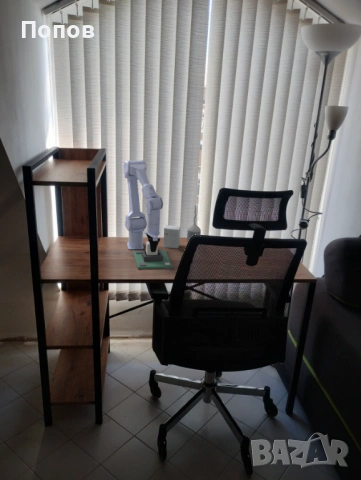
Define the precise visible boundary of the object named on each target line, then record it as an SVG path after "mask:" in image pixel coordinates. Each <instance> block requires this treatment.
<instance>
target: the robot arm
mask: <svg viewBox="0 0 361 480" xmlns="http://www.w3.org/2000/svg"><path fill="white" fill-rule="evenodd" d="M146 172H147V163H146V161H145V160H143V159H142V160H141V159H140V160H125V161H124V162H123V175H124V178H125V179H127V189H128V190H127V191H128V200H129V211H130V212H128V213H127V214H126V215H125V221H124V222H125V223H124V225H125V226H124V227H125V229H126V230H127V231H128V242H126V244H127V249H128V250H145V246H144V245H143V244H144V243H143V237H144V234H145V236H146V239H147V241H149V243H150V250H151V252H156V249H157V245H158V246H159V242H160V241H161V238H160V237H159V235H160V233H161V232H160V228H161V227H160V222H161V221H160V220H161V210H162V209H163V206H164V201H163V198H162V197H161V196H159V194H157V191H156V190H155V189H156V188H154V185H153V184H152V183H151V184H150V181H149V178H148V175H147V173H146ZM138 181H139V183H140V185H141V186H142V187H141V192H142V195H143V197H144V200H145V208H146V214H147V219H146V214H144V213H143V212H142V211H141V205H140V194H139V193H140V192H139V184H138ZM145 229H146V230H145Z"/></svg>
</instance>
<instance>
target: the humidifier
mask: <svg viewBox="0 0 361 480" xmlns="http://www.w3.org/2000/svg"><path fill="white" fill-rule="evenodd" d="M193 211H194V215H193V224H192V225H190V226H189V227H188V228H187V232H186V233H187V234H186V243H187V242H188V240H189V238H190V237H191V236H192V235H195V234H196V235H201V236H202V234H201V233H202V231H201V228H200V227H199V225H198V224H196V218H197V205H196V204H195V205H194V210H193ZM199 214H200V213H199V212H198V215H199ZM199 218H200V217H198V220H199ZM186 246H187V245H185V247H186Z"/></svg>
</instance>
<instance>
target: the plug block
mask: <svg viewBox="0 0 361 480" xmlns="http://www.w3.org/2000/svg"><path fill="white" fill-rule="evenodd" d="M145 250H146V254H147V255H158V250H159V244H158V245H157V249H156V252H151V250H150V243H149V241H148V240H146V241H145Z"/></svg>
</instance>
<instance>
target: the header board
mask: <svg viewBox="0 0 361 480" xmlns="http://www.w3.org/2000/svg"><path fill="white" fill-rule="evenodd" d="M132 252H133V257H134V260H135V264H136V267H137V268H136V269H137V270H151V269H155V270H156V269H173V268H174V267H173V264H172V261H171V260H170V258H169V255H168V253H167V251H166V250H165V249H158V255H147V254H146V249H138V250H133V251H132Z"/></svg>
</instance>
